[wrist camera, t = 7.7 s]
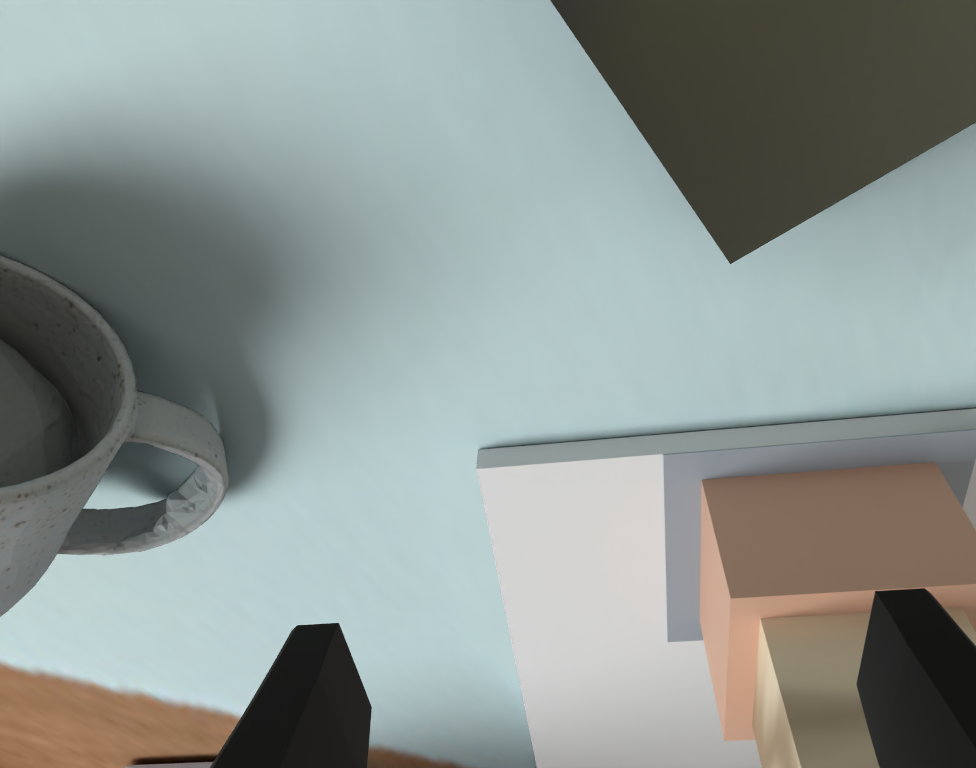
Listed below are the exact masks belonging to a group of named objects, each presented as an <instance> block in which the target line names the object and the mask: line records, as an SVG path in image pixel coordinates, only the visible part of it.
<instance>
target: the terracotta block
mask: <svg viewBox="0 0 976 768" xmlns="http://www.w3.org/2000/svg"><path fill="white" fill-rule="evenodd" d="M919 588H925V589H926V590H927V591H929V592H930V593H931V594H932V595H933V596H934V597H935V598H936V600H937V601H938V602H939V603H940V604H941V606H942V607H943V608H948V607H962V608H963V610H964V612H965V613H966V615H967V617H968V619H969V621H970V623H971V625H972V627H973V629H974V631H975V633H976V530H975V528H974V526H973V525H972V523H971V521H970V520H969V518H968V516H967V515H966V513H965V511H964V510H963V508H962V506H961V505H960V503H959V501H958V499H957V498H956V496H955V494H954V493H953V491H952V489H951V488H950V486H949V484H948V483H947V481H946V479H945V478H944V476H943V474H942V473H941V471H940V469H939V467H938V466H937V464H936V462H929V463H916V464H903V465H890V466H877V467H863V468H850V469H837V470H824V471H811V472H798V473H784V474H771V475H758V476H745V477H732V478H718V479H705V480H701V554H700V625H701V630H702V635H703V640H704V645H705V650H706V655H707V659H708V664H709V669H710V674H711V679H712V684H713V689H714V694H715V699H716V704H717V709H718V714H719V719H720V723H721V728H722V733H723V738H724V741H739V740H755V735H754V731H753V727H752V721H753V707H754V694H755V681H756V667H757V654H758V641H759V627H760V618H777V617H794V616H811V615H828V614H846V613H863V612H871V609H872V604H873V599H874V594H875V591H886V590H902V589H919Z"/></svg>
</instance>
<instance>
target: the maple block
mask: <svg viewBox="0 0 976 768" xmlns="http://www.w3.org/2000/svg"><path fill="white" fill-rule="evenodd" d="M944 609H945V610H946V611H947V613H948V614H949V615H950V616H951V617H952V619H953V620H954V621H955V622H956V623H957V624H958V626H959V627H960V628H961V629H962V630H963V631H964V633H965V634H966V635H967V636H968V637H969V638H970V640H971V641H972V642H973V643H974V644H975V645H976V633H975V631H974V629H973V627H972V625H971V623H970V621H969V619H968V617H967V615H966V613H965V612H964V610H963V608H962V607H948V608H944ZM870 614H871V612H863V613H846V614H828V615H811V616H794V617H777V618H760V627H759V641H758V654H757V667H756V681H755V694H754V707H753V721H752V727H753V731H754V735H755V740H756V744H757V748H758V752H759V757H760V761H761V765H762V768H880V767H879V764H878V761H877V758H876V754H875V751H874V747H873V744H872V740H871V737H870V733H869V730H868V726H867V722H866V719H865V715H864V711H863V707H862V704H861V700H860V696H859V692H858V689H857V685H856V683H857V678H858V674H859V669H860V664H861V659H862V654H863V649H864V644H865V639H866V634H867V629H868V624H869V619H870Z"/></svg>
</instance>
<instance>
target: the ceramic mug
mask: <svg viewBox="0 0 976 768" xmlns="http://www.w3.org/2000/svg"><path fill="white" fill-rule="evenodd" d="M125 442H138V443H147V444H150V445H153V446H155V447H158V448H160V449H163V450H166V451H168V452H171V453H175V454H178V455H180V456H182V457H185V458H187V459H189V460H191V461H193V462H195V463H196V464H198V465H199V466H198V467H197V468H196V469H195V471H194V472H193V473H192V474H191V475H190V477H189V478H188V479H187V480H186V481H185V482H184V483H183V484H182V485H181V487H180V488H179V489H177V490H175V491H173V492H172V493H170V494H169V495H168V498H166V499H164V500H161V501H159V502H156V503H151V504H146V505H142V506H138V507H126V508H117V509H99V510H97V509H83V507H84V506H85V504H86V503H87V501H88V500H89V498H90V496H91V495H92V493H93V492H94V490H95V488H96V487H97V485H98V483H99V481H100V480H101V478H102V476H103V475H104V473H105V471H106V470H107V468H108V466H109V465H110V463H111V461H112V460H113V458H114V457H115V455H116V453H117V452H118V450H119V449H120V447H121V445H122V443H125ZM228 485H229V481H228V472H227V465H226V457H225V451H224V445H223V441H222V439H221V438H220V436H219V434H218V433H217V431H216V430H215V428H214V427H213V425H212V424H211V423H210V422H208V421H207V420H206V419H205V418H204V417H203V416H202V415H201V414H199V413H197V412H195V411H193V410H192V409H190V408H187V407H185V406H182V405H180V404H177V403H174V402H172V401H169V400H166V399H164V398H161V397H158V396H155V395H151V394H148V393H144V392H140V391H136V377H135V374H134V369H133V366H132V363H131V361H130V358H129V356H128V353H127V351H126V349H125V347H124V345H123V343H122V341H121V340H120V338H119V337H118V335H117V334H116V333H115V331H114V330H113V329H112V328H111V326H110V325H109V324H108V323H107V322H106V321H105V319H104V318H103V317H102V316H101V315H100V313H99V312H98V311H97V310H95V309H94V308H93V307H92V306H90V305H89V304H88V303H87V302H85V301H84V300H83V299H82V298H80V297H79V296H78V295H77V294H76V293H75V292H73V291H71V290H70V289H68V288H67V287H65V286H64V285H62V284H60V283H59V282H57V281H55V280H53V279H52V278H50V277H48V276H47V275H45V274H43V273H41V272H39V271H37V270H34V269H32V268H30V267H28V266H26V265H24V264H21V263H19V262H16V261H13V260H11V259H9V258H6V257H4V256H1V255H0V616H2V615H3V614H5V613H6V612H7V611H8V610H9V609H10V608H12V607H13V606H14V605H15V604H16V603H17V602H18V601H19V600H20V599H21V598H22V597H24V596H25V595H26V594H27V593H28V592H29V591H30V590H31V589H32V588H33V587H34V586H35V585H36V583H37V582H38V581H39V579H40V578H41V577H42V576H43V574H44V573H45V572H46V570H47V569H48V567H49V566H50V564H51V563H52V561H53V560H54V558H55V557H56V555H57V554H72V555H113V554H121V553H130V552H141V551H145V550H148V549H151V548H155V547H158V546H161V545H164V544H167V543H169V542H172V541H174V540H176V539H179V538H181V537H183V536H185V535H187V534H189V533H190V532H192V531H193V530H195V529H196V528H198V527H199V526H200V525H202V524H203V523H204V522H206V521H207V520H208V519H209V518H210V517H211V516H212V515H213V514H214V512H215V511H216V510H217V509H218V507H219V506H220V504H221V502H222V501H223V499H224V497H225V494H226V492H227V489H228Z"/></svg>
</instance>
